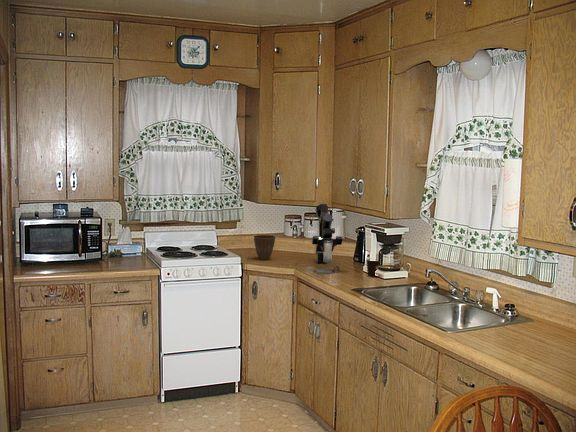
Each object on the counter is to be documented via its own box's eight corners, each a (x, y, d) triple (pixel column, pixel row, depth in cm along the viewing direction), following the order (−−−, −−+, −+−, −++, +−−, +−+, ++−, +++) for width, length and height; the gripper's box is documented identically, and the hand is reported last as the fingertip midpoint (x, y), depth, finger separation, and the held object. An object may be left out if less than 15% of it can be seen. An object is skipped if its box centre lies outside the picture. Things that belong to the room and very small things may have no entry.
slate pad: (315, 270, 376) (315, 269, 376) (329, 270, 377) (329, 269, 377) (317, 273, 367) (317, 271, 367) (331, 273, 368) (331, 271, 368)
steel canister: (324, 260, 375) (325, 239, 373) (332, 261, 373) (333, 240, 372) (322, 261, 370) (322, 240, 368) (330, 262, 368) (331, 241, 367)
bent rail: (331, 269, 382) (331, 264, 381) (337, 269, 382) (338, 264, 382) (334, 273, 370) (335, 268, 369) (342, 273, 370) (342, 268, 370)
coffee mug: (369, 277, 358) (369, 261, 357) (363, 274, 366) (364, 258, 366) (387, 277, 361) (387, 260, 360) (381, 274, 370) (381, 258, 369)
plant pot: (274, 261, 405) (275, 238, 404) (252, 260, 405) (253, 237, 404) (275, 257, 420) (275, 235, 419) (253, 257, 420) (254, 234, 419)
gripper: (313, 223, 372) (314, 243, 363) (342, 223, 373) (344, 243, 364) (311, 233, 381) (312, 253, 371) (340, 234, 382) (342, 254, 372)
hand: (328, 251), depth 369 cm, fingers closed on steel canister, 5 cm apart
